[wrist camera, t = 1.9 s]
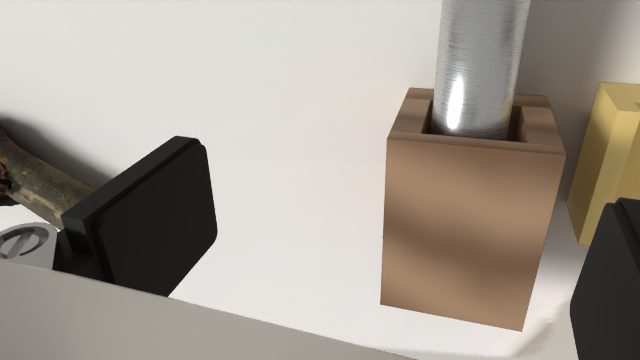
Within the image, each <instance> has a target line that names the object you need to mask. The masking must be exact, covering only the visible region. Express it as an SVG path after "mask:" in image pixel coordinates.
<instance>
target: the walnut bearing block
mask: <svg viewBox="0 0 640 360" xmlns="http://www.w3.org/2000/svg"><path fill="white" fill-rule="evenodd" d="M433 100H434V89H421V88H409V90H408V92H407V94H406V97H405V99H404V101H403V103H402V106H401V108H400V110H399V113H398V115H397V117H396V120H395V122H394V124H393V126H392V129H391V131H390V133H389V136H388V138H387V152H386V177H385V201H384V226H383V251H382V275H381V300H380V304H381V305H386V306H391V307H396V308H401V309H407V310H412V311H417V312H422V313H427V314H432V315H438V316H443V317H448V318H453V319H458V320H463V321H469V322H474V323H479V324H484V325H489V326H494V327H500V328H505V329H510V330H515V331H520V332H522V329H523V325H524V321H525V317H526V314H527V310H528V306H529V302H530V298H531V294H532V290H533V286H534V282H535V278H536V274H537V270H538V266H539V263H540V259H541V255H542V251H543V247H544V243H545V239H546V235H547V231H548V227H549V223H550V219H551V215H552V212H553V208H554V204H555V200H556V196H557V192H558V188H559V184H560V180H561V176H562V172H563V168H564V165H565V161H566V157H567V155H566V152H565V149H564V146H563V143H562V140H561V137H560V134H559V131H558V128H557V125H556V122H555V119H554V116H553V113H552V110H551V107H550V104H549V101H548V98H547V96H534V95H518V94H514V99H513V105H512V110H511V116H510V121H509V127H508V133H507V138H506V141H498V140H487V139H476V138H465V137H453V136H442V135H431V134H430V133H431V122H432V111H433Z"/></svg>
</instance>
